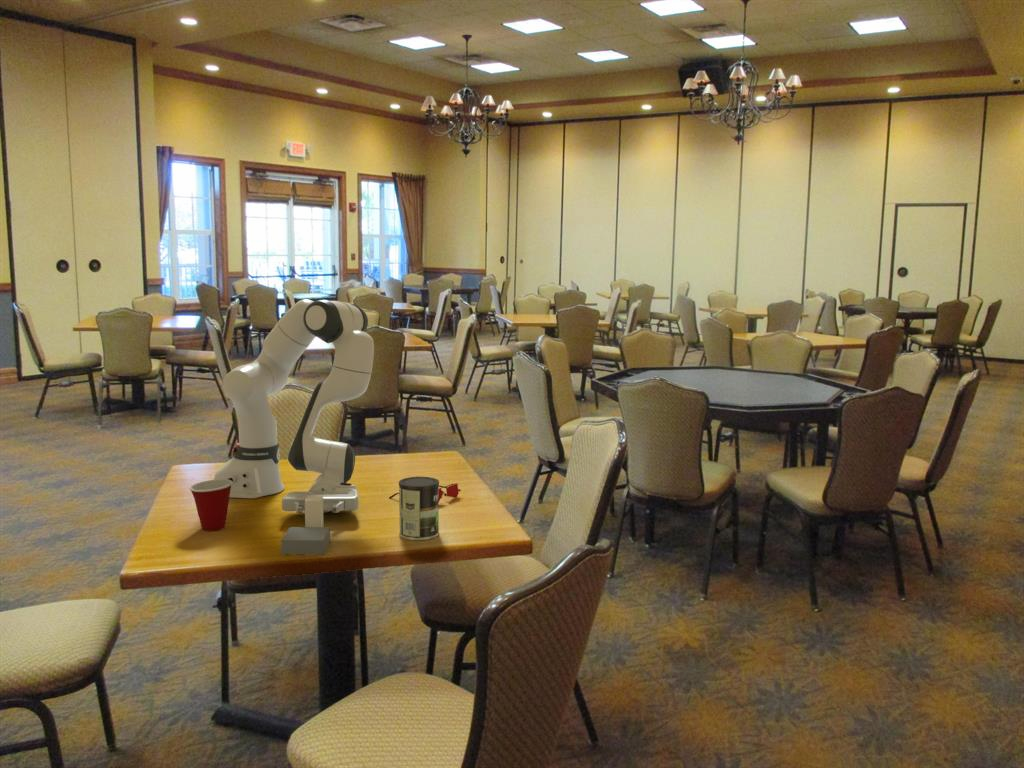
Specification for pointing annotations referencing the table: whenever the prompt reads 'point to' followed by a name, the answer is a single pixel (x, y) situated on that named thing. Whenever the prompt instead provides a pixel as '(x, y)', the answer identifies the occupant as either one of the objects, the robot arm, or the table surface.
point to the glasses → (450, 490)
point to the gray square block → (305, 540)
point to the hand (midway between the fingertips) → (316, 509)
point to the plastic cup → (212, 502)
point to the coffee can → (419, 508)
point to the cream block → (314, 511)
